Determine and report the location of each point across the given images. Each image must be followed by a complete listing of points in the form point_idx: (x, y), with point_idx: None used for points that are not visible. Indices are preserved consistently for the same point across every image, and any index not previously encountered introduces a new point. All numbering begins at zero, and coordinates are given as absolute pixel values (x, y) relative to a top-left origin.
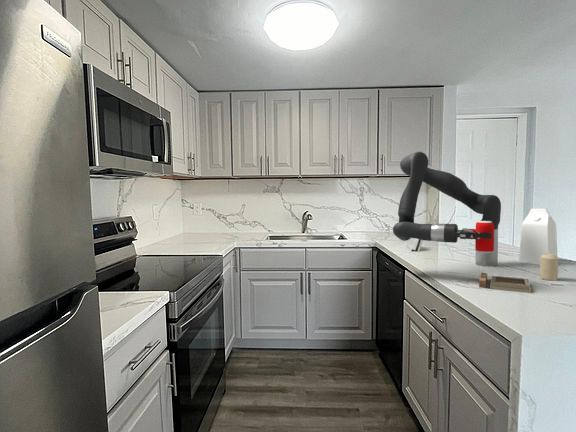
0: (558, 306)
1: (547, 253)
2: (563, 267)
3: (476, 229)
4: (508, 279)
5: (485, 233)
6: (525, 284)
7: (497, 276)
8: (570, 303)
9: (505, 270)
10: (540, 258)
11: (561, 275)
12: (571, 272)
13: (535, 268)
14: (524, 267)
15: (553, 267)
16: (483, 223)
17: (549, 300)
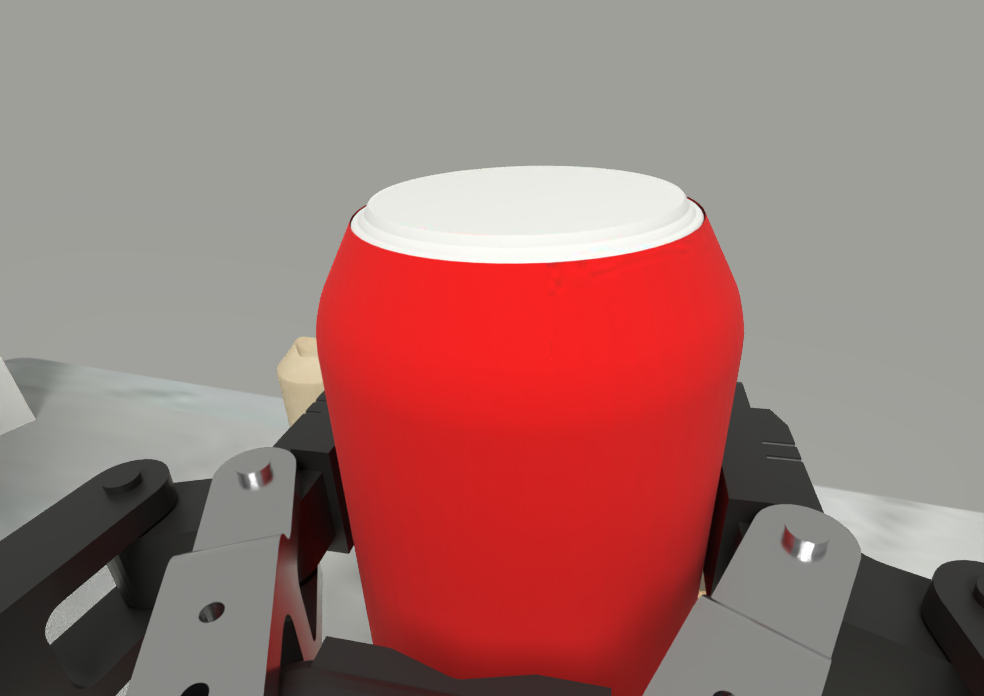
0: (967, 543)
1: (294, 344)
2: (102, 388)
3: (618, 507)
4: None
5: (757, 446)
6: (705, 590)
7: None
8: (848, 493)
9: (47, 628)
10: (310, 391)
11: (267, 420)
12: (212, 387)
13: (71, 470)
14: (14, 508)
15: None
16: (713, 241)
17: (864, 554)
